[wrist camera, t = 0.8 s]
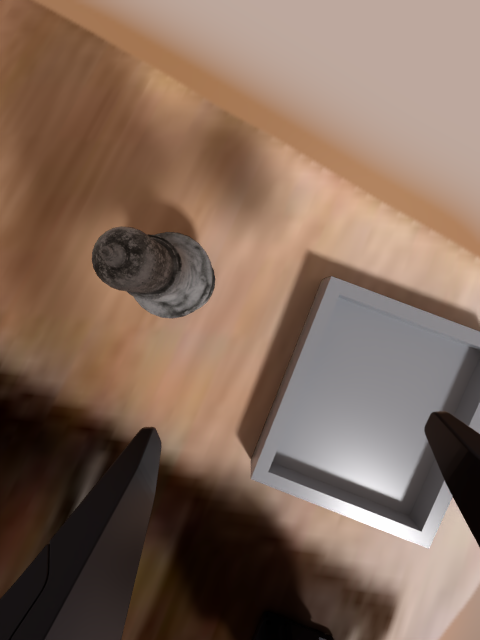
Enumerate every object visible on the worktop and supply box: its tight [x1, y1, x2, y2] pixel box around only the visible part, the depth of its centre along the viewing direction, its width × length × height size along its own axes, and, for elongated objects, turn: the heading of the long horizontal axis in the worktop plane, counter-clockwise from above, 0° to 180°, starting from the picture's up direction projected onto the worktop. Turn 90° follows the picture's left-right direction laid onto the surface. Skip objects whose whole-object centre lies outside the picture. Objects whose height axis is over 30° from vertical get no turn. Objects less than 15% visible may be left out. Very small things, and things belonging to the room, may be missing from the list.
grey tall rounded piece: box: [92, 227, 215, 318], centre depth 16 cm, size 6×6×12 cm
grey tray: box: [251, 276, 480, 549], centre depth 21 cm, size 16×14×2 cm
